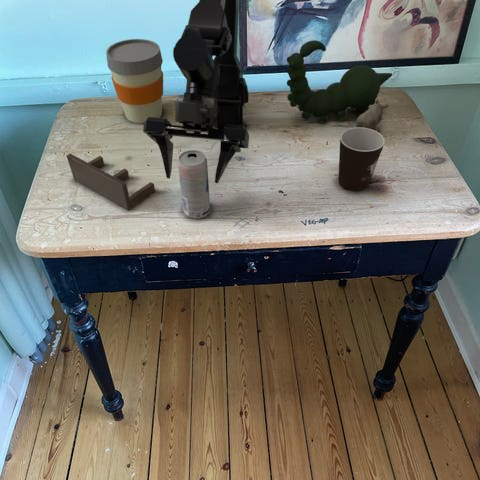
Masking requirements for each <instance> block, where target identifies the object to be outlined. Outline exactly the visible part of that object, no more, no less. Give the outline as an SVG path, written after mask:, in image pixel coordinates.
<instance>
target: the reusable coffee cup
mask: <svg viewBox="0 0 480 480" xmlns="http://www.w3.org/2000/svg"><path fill="white" fill-rule="evenodd" d="M105 54H106V63H107V68H108V69H109V71H110V73H111V81H112V84H113V88H114V90H115V94H116V97H117V99H118V100H119V102H120V103H121V106H122V109H123V112H124V115H125V118H126V119H127V120H128V121H129V122H132V123H135V124H144V122H145V120H146V119H147V118H148V117H154V118H161V116H162V115H163V114H162V113H163V103H162V102H163V99H162V97H163V95H164V72H163V70H162V65H163V60H164V59H163V57H162V52H161V48H160V45H159V44H158V43H157V42H155V41H153V40H149V39H144V38H130V39H123V40H120V41H117V42H114V43H112V44H111V45H109V47H107V49H106V51H105Z"/></svg>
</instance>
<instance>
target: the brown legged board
mask: <svg viewBox="0 0 480 480" xmlns="http://www.w3.org/2000/svg"><path fill="white" fill-rule="evenodd" d="M66 159H67V162H68V165H69V168H70V173H71V174H72V178H73V180H74V181H75V182H77V183H78V184H80V185H82V186H84V187H85V188H87V189H89V190H91V191H92V192H95V194H98V195H100V196H102V197H103V198H105V199H106V200H108V201H110V202H112V203H114V204H116V205H118V206H119V207H121V208H123V209H125V210H127V211H129V210H132V208H134V207H135V206H137V205H138V204H140V203H141V202H143V201H144V200H145V199H147V198H148V197H150V196H151V195H153V194H154V193H155V192H156V187H155V183H154V182H151V181H150V182H149V183H147V184H145V185H144V186H142V187H141V188H139V189H138V190H136V191H135V192H134V193H132V194H130V195H129V190H128V185H127V183H126V182H125V181H127V180H129V179H130V176H129V171H128V169H126V168H123V169H121V170H120V171H118V172H117V173H115V174H114V175H112V174H110V173H108V172H106V171H105V170H102V169H101V168H103V167H104V166H105V161H104V156H101V155H98V156H97V157H94V158H93V159H92V160H89V161H88V162H87V161H86V160H84V159H82V158H80V157H78V156H76V155H74V154H73V153H68V154H66Z"/></svg>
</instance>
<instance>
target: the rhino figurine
mask: <svg viewBox="0 0 480 480" xmlns="http://www.w3.org/2000/svg"><path fill="white" fill-rule="evenodd" d="M388 107H389V103H385V104H382V103H380V100H379V99H376V100H375V103H374V104H373V105H371V106H369V109H368V110H367V111H366V112H364V113H363V114H361V115H360V114H359V116H358V117H357V119H356V121H355V128H358V127H361V128H369V129H372V130H375V131H376V130H377V129H376V128H377V126H378V125H379V123H380V122H381V121H382V118H383V114H384V109H385V108H388Z"/></svg>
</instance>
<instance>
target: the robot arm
mask: <svg viewBox="0 0 480 480" xmlns="http://www.w3.org/2000/svg"><path fill="white" fill-rule="evenodd" d="M239 10H240V0H199V1H198V2H197V4H195V6H193V8H192V9H191V10H190V13H189V18H188V21H187V22H188V23H187V24H186V25H185V27H184V30H183V32H182V34H181V36H180V37H179V39H178V40H177V41H176V43H175V45H174V47H173V50H172V56H173V60H174V63H175V64H176V66H177V67H178V69H179V71H180V72H181V74H182V75H183V77H184V78H185V79H186V84H185V92H183V97H182V100H177V101H174V122H177V123H179V124H181V125H178V124H172V123H171V122H170V121H169V120H168V119H167V118H165V117H164V118H163V117H159V118H154V117H148V118H147V119H146V120H145V122H144V123H143V129H142V130H143V133H144V134H145V135H146V136H147V137H149V138H150V139H151V140H152V141H153V142H155V143H156V144H157V146H158V148H159V151H160V154H161V158H162V163H163V167H164V172H165V176H166V178H167V179H168V180H169V179H171V175H172V171H173V170H172V169H173V158H174V157H173V155H174V143H173V142H172V141H171V140H172V139H173V138H174V137H179V138H181V137H182V138H193V139H202V140H203V139H204V140H214V141H220V147H219V154H218V160H217V165H216V170H215V176H214V178H215V179H214V183H215V184H217V185H218V184H219V183H220V181H221V178H222V176H223V174H224V172H225V171H226V168H227V166H228V165H229V164H230V161H232V159H233V158H234V155H235V154H236V153H241V151H242V149H249V145H250V134H249V131H248V129H247V124H246V122H244V120H243V119H244V118H243V117H244V116H243V114H244V113H243V112H244V111H243V110H244V109H243V108H244V106H245V105H247V103H249V101H250V100H249V99H250V97H249V95H250V94H249V88H248V84H247V81H246V79H245V78H244V68H243V66H242V64H241V61H240V59H239V57H238V35H239V34H238V33H239V32H238V31H239Z"/></svg>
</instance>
